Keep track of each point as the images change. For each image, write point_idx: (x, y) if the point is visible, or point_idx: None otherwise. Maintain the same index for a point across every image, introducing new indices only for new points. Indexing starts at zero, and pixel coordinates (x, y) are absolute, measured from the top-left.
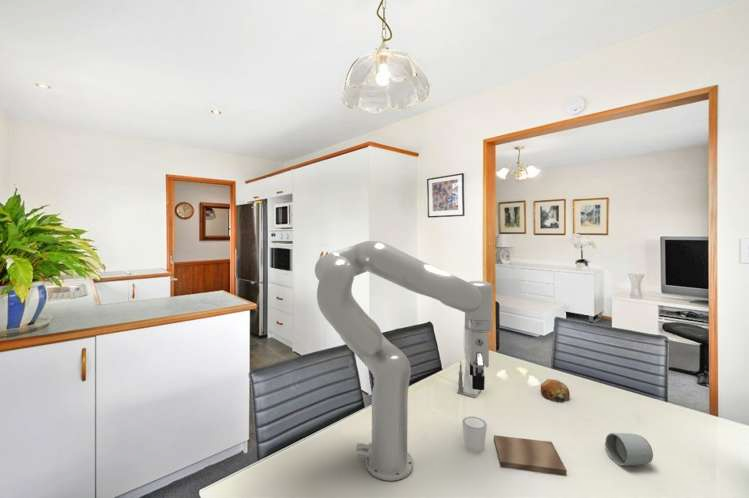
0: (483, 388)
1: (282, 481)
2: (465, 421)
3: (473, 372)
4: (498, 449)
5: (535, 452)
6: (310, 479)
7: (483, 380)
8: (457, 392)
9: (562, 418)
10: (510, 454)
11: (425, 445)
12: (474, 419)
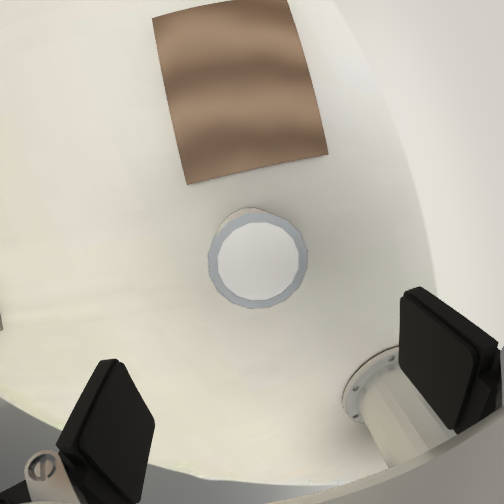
0: (422, 295)
1: None
2: (263, 297)
3: (140, 421)
4: (268, 162)
5: (234, 54)
6: None
7: (466, 328)
8: (1, 330)
9: (9, 35)
10: (280, 124)
11: (302, 356)
12: (230, 267)
